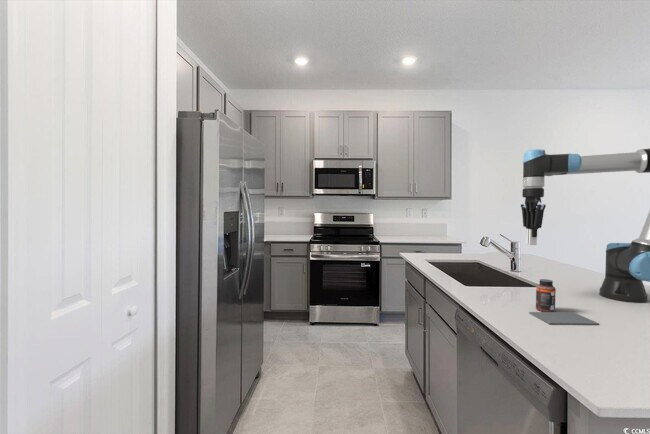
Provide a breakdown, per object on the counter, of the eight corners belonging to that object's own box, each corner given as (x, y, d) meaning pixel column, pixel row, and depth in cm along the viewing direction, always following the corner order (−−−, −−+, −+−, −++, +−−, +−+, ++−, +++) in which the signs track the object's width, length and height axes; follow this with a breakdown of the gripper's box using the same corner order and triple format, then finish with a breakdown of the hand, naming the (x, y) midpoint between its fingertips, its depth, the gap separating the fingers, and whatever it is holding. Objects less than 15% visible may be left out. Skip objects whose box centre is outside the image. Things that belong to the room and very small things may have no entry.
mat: (574, 313, 118) (574, 312, 118) (599, 325, 107) (599, 323, 107) (529, 313, 118) (529, 311, 118) (549, 324, 107) (549, 323, 107)
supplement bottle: (558, 313, 118) (559, 282, 118) (539, 312, 119) (540, 281, 119) (550, 308, 124) (551, 278, 123) (532, 307, 125) (533, 277, 125)
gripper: (514, 188, 143) (513, 242, 144) (534, 187, 129) (532, 246, 130) (531, 188, 143) (530, 242, 144) (553, 187, 129) (551, 247, 130)
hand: (531, 244), depth 137 cm, fingers closed
